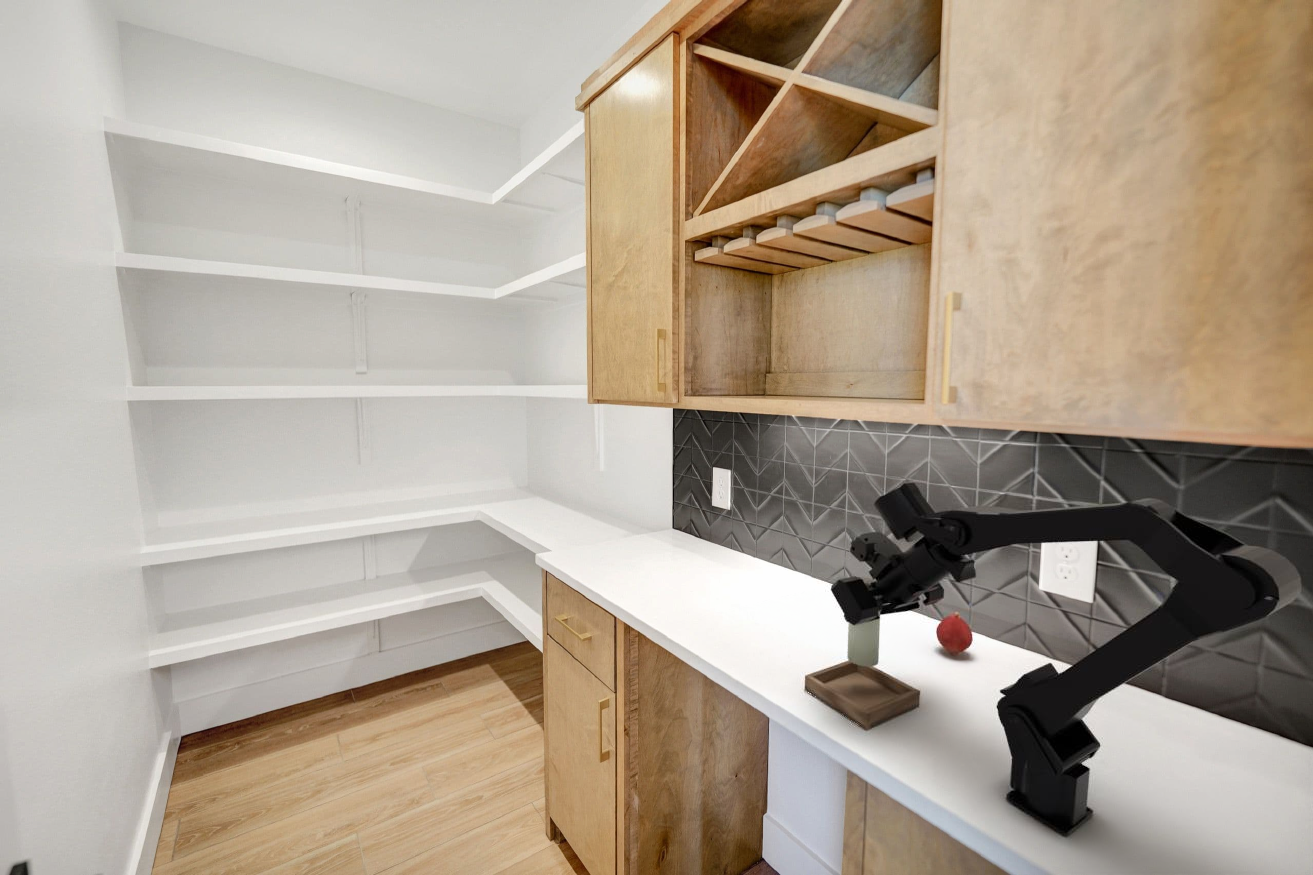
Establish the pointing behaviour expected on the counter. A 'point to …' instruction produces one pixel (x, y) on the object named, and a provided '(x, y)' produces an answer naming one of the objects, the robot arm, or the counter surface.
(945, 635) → the onion
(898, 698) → the walnut tray
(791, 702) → the counter surface
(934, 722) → the counter surface
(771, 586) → the counter surface
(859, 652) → the spice jar
